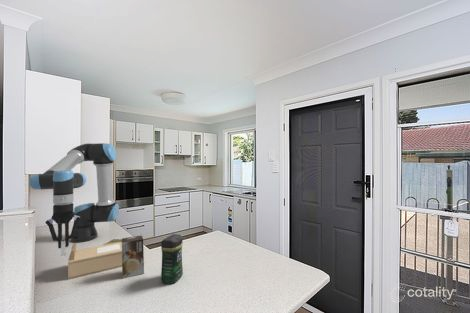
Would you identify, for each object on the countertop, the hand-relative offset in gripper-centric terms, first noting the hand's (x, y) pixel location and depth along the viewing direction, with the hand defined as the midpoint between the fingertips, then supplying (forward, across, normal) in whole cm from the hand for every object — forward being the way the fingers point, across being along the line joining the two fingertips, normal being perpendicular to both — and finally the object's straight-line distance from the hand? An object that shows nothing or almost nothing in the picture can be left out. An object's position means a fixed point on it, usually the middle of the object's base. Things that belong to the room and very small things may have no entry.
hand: (63, 254), depth 103 cm
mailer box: (+9, +15, 0) cm, 18 cm away
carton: (+10, +20, +20) cm, 30 cm away
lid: (+2, +15, 0) cm, 15 cm away
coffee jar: (+9, +42, -32) cm, 53 cm away
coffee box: (+9, +27, -17) cm, 34 cm away
